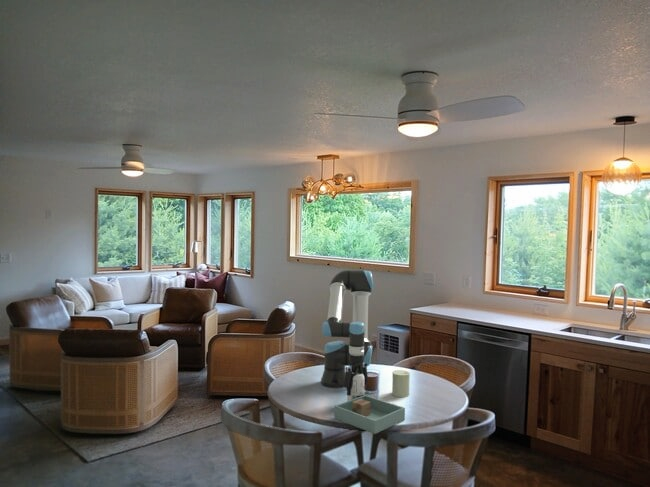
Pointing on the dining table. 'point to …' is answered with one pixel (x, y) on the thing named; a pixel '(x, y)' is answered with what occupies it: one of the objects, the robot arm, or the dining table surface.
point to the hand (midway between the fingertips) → (355, 399)
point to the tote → (371, 415)
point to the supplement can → (358, 385)
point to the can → (400, 383)
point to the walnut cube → (361, 407)
